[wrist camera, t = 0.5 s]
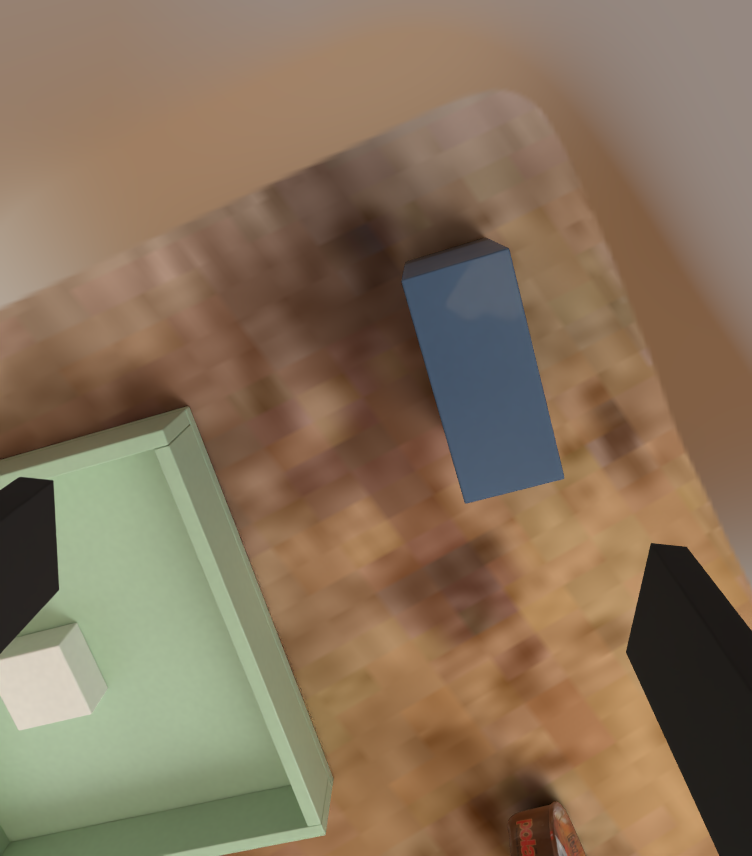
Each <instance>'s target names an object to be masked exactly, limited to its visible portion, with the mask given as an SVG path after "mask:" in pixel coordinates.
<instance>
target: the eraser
mask: <svg viewBox="0 0 752 856" xmlns="http://www.w3.org/2000/svg"><path fill="white" fill-rule="evenodd" d="M401 282H402V286H403V289H404V293H405V296H406V300H407V303H408V307H409V310H410V314H411V317H412V321H413V324H414V328H415V331H416V335H417V338H418V341H419V345H420V348H421V352H422V355H423V359H424V362H425V366H426V369H427V373H428V376H429V380H430V383H431V387H432V390H433V394H434V397H435V401H436V404H437V408H438V411H439V415H440V418H441V422H442V425H443V429H444V432H445V436H446V439H447V443H448V446H449V450H450V453H451V457H452V460H453V464H454V467H455V471H456V474H457V478H458V481H459V485H460V488H461V492H462V495H463V499H464V502H465V503H470V502H474V501H478V500H482V499H486V498H490V497H494V496H498V495H502V494H506V493H510V492H514V491H518V490H522V489H526V488H530V487H534V486H538V485H542V484H545V483H549V482H553V481H557V480H561V479H564V474H563V470H562V466H561V461H560V457H559V453H558V449H557V445H556V441H555V437H554V432H553V428H552V424H551V420H550V416H549V412H548V408H547V403H546V399H545V395H544V391H543V387H542V383H541V379H540V375H539V370H538V366H537V362H536V358H535V354H534V350H533V346H532V341H531V337H530V333H529V329H528V325H527V321H526V317H525V312H524V308H523V304H522V300H521V296H520V292H519V288H518V284H517V279H516V275H515V271H514V267H513V263H512V259H511V255H510V250H509V248H507V247H505V246H503V245H501V244H499V243H496V242H494V241H492V240H490V239H488V238H482V239H479V240H476V241H473V242H469V243H466V244H463V245H459V246H456V247H453V248H450V249H446V250H443V251H440V252H436V253H433V254H430V255H426V256H423V257H420V258H417V259H413V260H410V261H407V262H405V266H404V271H403V276H402V281H401Z"/></svg>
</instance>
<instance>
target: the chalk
mask: <svg viewBox="0 0 752 856" xmlns="http://www.w3.org/2000/svg"><path fill="white" fill-rule="evenodd" d="M107 689H108V687H107V685H106V683H105V681H104V678H103V676H102V674H101V672H100V670H99V668H98V666H97V664H96V662H95V659H94V657H93V655H92V653H91V651H90V649H89V647H88V645H87V643H86V641H85V638H84V636H83V634H82V632H81V630H80V628H79V626H78V624H77V623H72V624H68V625H64V626H60V627H56V628H52V629H48V630H44V631H40V632H36V633H32V634H28V635H24V636H20V637H16V638H14V640H13V641H12V642H11V643H10V644H9V645H8V646H7V647H6V648H5V649H4V650H3V651H2V653H1V654H0V696H1V698H2V700H3V702H4V704H5V706H6V708H7V710H8V712H9V713H10V715H11V717H12V719H13V721H14V723H15V725H16V727H17V729H18V730H19V731H20V730H24V729H29V728H33V727H37V726H42V725H46V724H51V723H55V722H59V721H64V720H68V719H73V718H77V717H81V716H86V715H90V714H92V713H93V711H94V709H95V708H96V706H97V705H98V703H99V702H100V700H101V698H102V697H103V695H104V694H105V692H106V691H107Z"/></svg>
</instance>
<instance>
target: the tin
mask: <svg viewBox="0 0 752 856" xmlns="http://www.w3.org/2000/svg"><path fill="white" fill-rule="evenodd" d="M508 832H509V836H510V853H511V856H586V855H585V852H584V850H583V848H582V845H581V843H580V841H579V839H578V836H577V834H576V832H575V829H574V827H573V825H572V823H571V821H570V818H569V816H568V815H567V813H566V811H565V810H564V808H563V807H562V805H561V804H560V803H559V802H556V801H555V802H553V803H551V805H547V806H543V807H538V808H534V809H530V810H526V811H522V812H519V813H516V814H514V815H513V816H512V817H511V818H510V819H509V821H508Z"/></svg>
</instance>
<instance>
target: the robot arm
mask: <svg viewBox="0 0 752 856" xmlns="http://www.w3.org/2000/svg"><path fill="white" fill-rule="evenodd" d="M58 591H59V575H58V556H57V537H56V519H55V500H54V481H53V480H46V479H37V478H27V477H18V478H17V479H15V480H14V481H12V482H11V483H10V484H8V485H7V486H5V487H4V488H2V489H1V490H0V654H1V653H2V651H3V650H4V649H5V648H6V647H7V646H8V645H9V644H10V643H11V642H12V641H13V640H14V638H15V637H16V636H17V635H18V634H19V633H20V632H21V631H22V630H23V629H24V628H25V627H26V625H27V624H28V623H29V622H30V621H31V620H32V619H33V618H34V617H35V616H36V615H37V614H38V613H39V611H40V610H41V609H42V608H43V607H44V606H45V605H46V604H47V603H48V602H49V601H50V600H51V598H52V597H53V596H54V595H55V594H56V593H57V592H58ZM626 653H627V655H628V658H629V660H630V662H631V664H632V666H633V668H634V671H635V673H636V675H637V677H638V679H639V681H640V684H641V686H642V688H643V690H644V692H645V695H646V697H647V699H648V701H649V703H650V705H651V708H652V710H653V712H654V714H655V716H656V719H657V721H658V723H659V725H660V727H661V729H662V732H663V734H664V736H665V738H666V740H667V742H668V745H669V747H670V749H671V751H672V753H673V756H674V758H675V760H676V762H677V764H678V766H679V769H680V771H681V773H682V775H683V777H684V780H685V782H686V784H687V786H688V788H689V790H690V793H691V795H692V797H693V799H694V801H695V803H696V806H697V808H698V810H699V812H700V814H701V817H702V819H703V821H704V823H705V825H706V827H707V830H708V832H709V834H710V836H711V838H712V841H713V843H714V845H715V847H716V849H717V851H718V854H719V856H752V631H751V629H750V628H749V627H748V626H747V624H746V623H745V622H744V620H743V619H742V618H741V617H740V615H739V614H738V613H737V611H736V610H735V609H734V607H733V606H732V605H731V604H730V602H729V601H728V600H727V598H726V597H725V596H724V595H723V593H722V592H721V591H720V589H719V588H718V587H717V586H716V584H715V583H714V582H713V580H712V579H711V578H710V576H709V575H708V574H707V573H706V571H705V570H704V569H703V567H702V566H701V565H700V564H699V562H698V561H697V560H696V558H695V557H694V556H693V555H692V553H691V552H690V551H689V549H688V548H687V547H682V546H673V545H663V544H654V543H651V545H650V549H649V554H648V558H647V563H646V567H645V571H644V576H643V580H642V584H641V589H640V593H639V598H638V602H637V606H636V611H635V615H634V619H633V624H632V628H631V633H630V637H629V641H628V646H627V650H626Z"/></svg>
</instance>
